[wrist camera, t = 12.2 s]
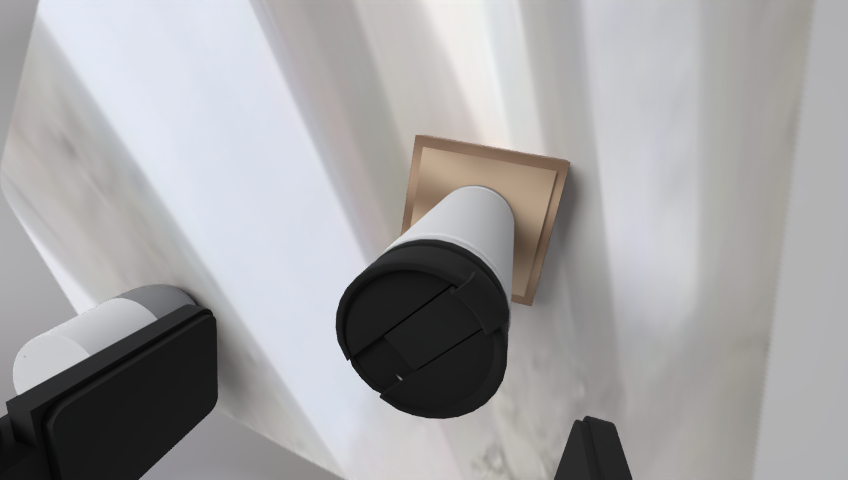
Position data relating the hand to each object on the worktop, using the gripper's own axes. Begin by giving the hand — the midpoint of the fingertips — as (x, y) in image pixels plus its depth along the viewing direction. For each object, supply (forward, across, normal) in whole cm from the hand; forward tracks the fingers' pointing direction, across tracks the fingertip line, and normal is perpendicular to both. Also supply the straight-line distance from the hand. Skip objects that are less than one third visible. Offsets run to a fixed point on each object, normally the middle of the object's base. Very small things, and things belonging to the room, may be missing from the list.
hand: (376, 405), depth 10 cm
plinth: (+26, 0, +1) cm, 26 cm away
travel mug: (+23, 0, +1) cm, 23 cm away
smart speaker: (+26, +32, +20) cm, 46 cm away
